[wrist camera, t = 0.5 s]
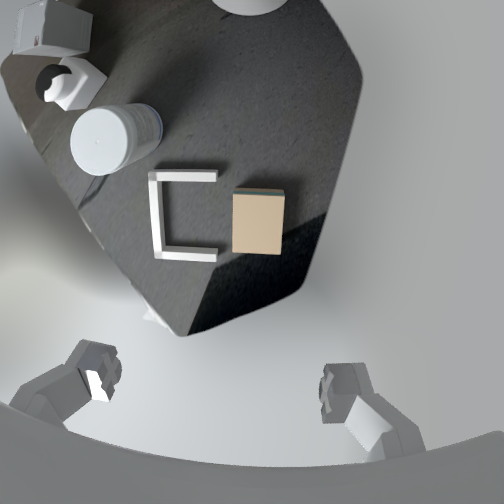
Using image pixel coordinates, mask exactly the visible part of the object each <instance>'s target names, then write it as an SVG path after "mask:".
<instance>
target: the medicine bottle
mask: <svg viewBox="0 0 504 504" xmlns="http://www.w3.org/2000/svg"><path fill="white" fill-rule="evenodd" d="M106 80H107V76H105V75H104V74H103V73H102V72H100V71H99V70H98V69H97V68H96V67H94V66H93V65H92V64H91V63H89V62H88V61H87V60H86V59H81V58H75V57H68V56H64V57H63V58H62V60H61V62H60V63H59V65H57V64H51V65H48V66H46V67H45V68H44V69H43V70H42V71H41V72H40V74H39V76H38V78H37V80H36V93H37V96H38V97H39V99H41V100H42V101H45V102H49V101H55V102H56V103H57V104H58V105H60V106H61V107H62V108H63V109H64V110H65V111H68V110H77V109H86V108H87V107H88V106H89V104H90V103H91V101H92V100H93V98H94V97H95V95H96V94H97V92H98V91H99V90H100V88H101V87H102V85H103V84H104V83H105V81H106Z"/></svg>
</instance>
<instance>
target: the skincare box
mask: <svg viewBox="0 0 504 504" xmlns="http://www.w3.org/2000/svg"><path fill="white" fill-rule="evenodd" d="M92 20H93V14H90V13H88V12H85V11H83V10H80V9H78V8H75V7H72V6H70V5H67V4H64V3H61V2H59V1H56V0H40V1H38V2H35V3H33V4H31V5H28V6H26V7H24V8H21V9H19V12H18V18H17V24H16V31H15V38H14V47H13V54H24V55H41V56H54V57H64V56H72V55H76V54H82V53H86V52H89V50H90V37H91V28H92Z"/></svg>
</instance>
